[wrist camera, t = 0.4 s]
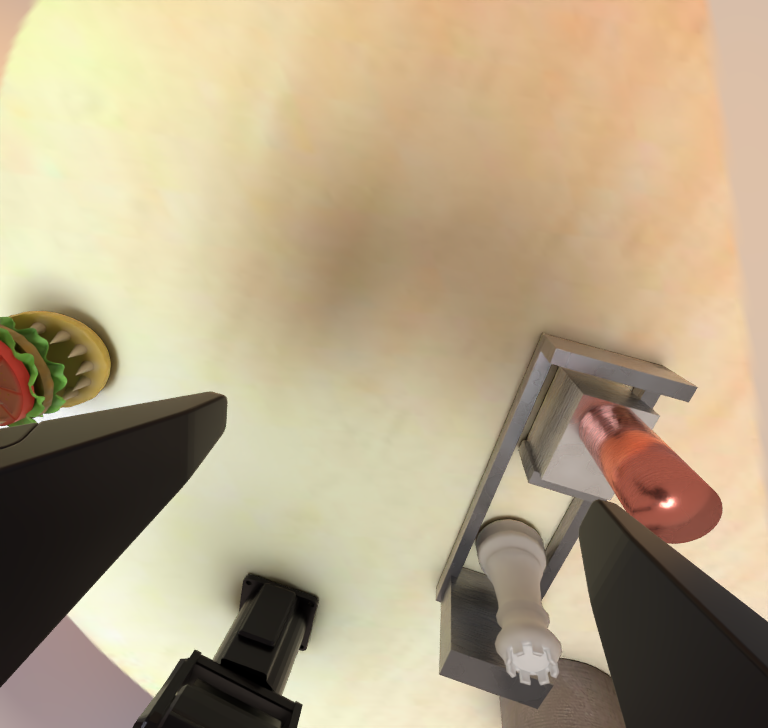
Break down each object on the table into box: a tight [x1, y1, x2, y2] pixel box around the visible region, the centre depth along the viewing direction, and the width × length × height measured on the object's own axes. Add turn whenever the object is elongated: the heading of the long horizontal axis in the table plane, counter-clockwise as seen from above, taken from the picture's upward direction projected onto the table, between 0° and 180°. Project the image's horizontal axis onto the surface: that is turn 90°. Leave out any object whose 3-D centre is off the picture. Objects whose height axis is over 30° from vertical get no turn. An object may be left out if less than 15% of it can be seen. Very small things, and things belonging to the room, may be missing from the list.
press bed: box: [436, 333, 698, 709], centre depth 21 cm, size 21×7×6 cm, turn 167°
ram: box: [518, 366, 722, 544], centre depth 17 cm, size 6×4×10 cm
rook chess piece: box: [475, 519, 562, 685], centre depth 22 cm, size 4×4×8 cm
